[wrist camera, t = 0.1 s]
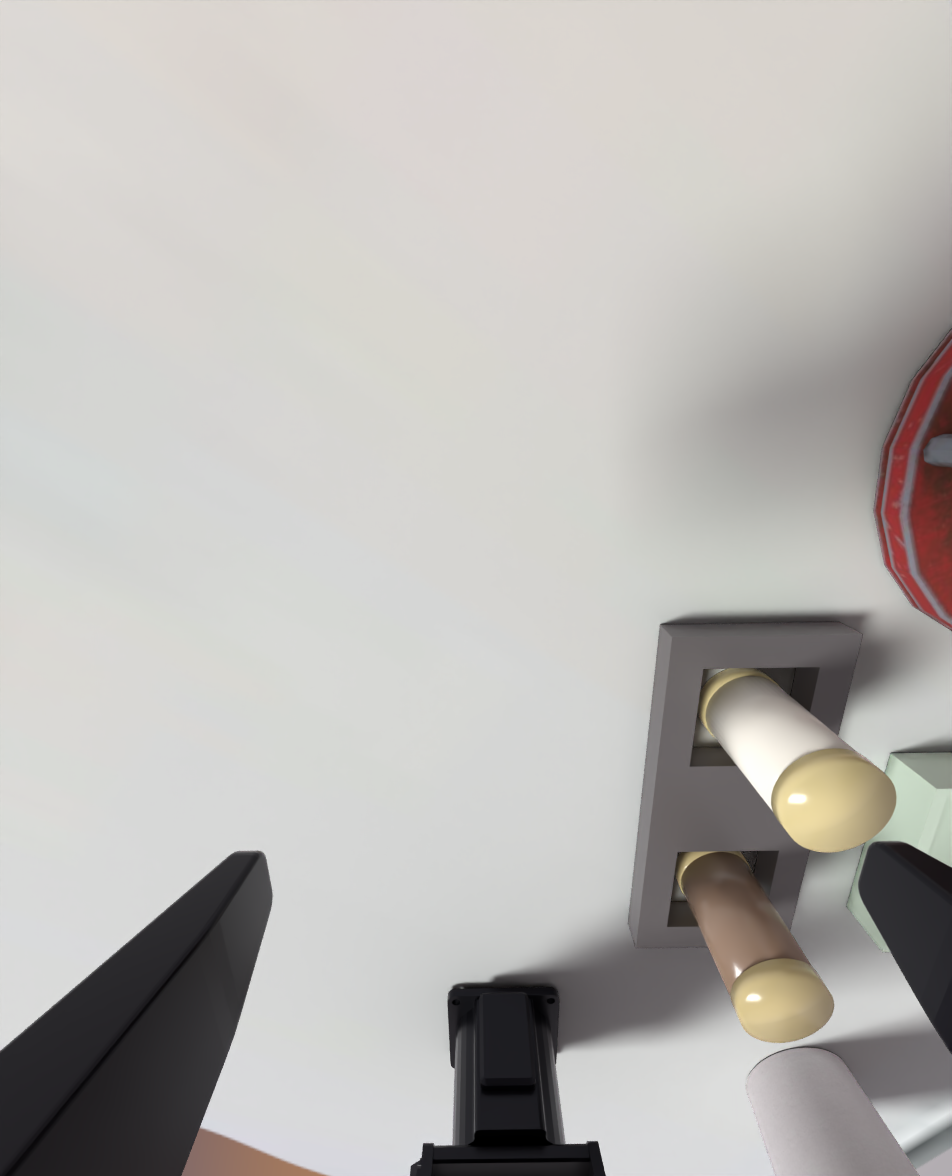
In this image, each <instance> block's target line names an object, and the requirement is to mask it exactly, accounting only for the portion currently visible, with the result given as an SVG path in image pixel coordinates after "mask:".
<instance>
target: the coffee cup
mask: <svg viewBox="0 0 952 1176" xmlns="http://www.w3.org/2000/svg"><path fill="white" fill-rule="evenodd" d="M746 1091H747V1095H748V1098H749V1101H750V1104H751V1107H752V1109H753V1112H754V1115H755V1118H756V1121H757V1124H758V1127H759V1130H760V1133H761V1136H762V1139H763V1141H764V1144H765V1147H766V1150H767V1153H768V1156H769V1159H770V1162H771V1165H772V1168H773V1171H774V1174H775V1176H920V1175H919V1174H918V1173H917V1171H916V1169H915V1168H914V1166H913V1165H912V1163H911V1162H910V1160H909V1159H908V1157H907V1156H906V1154H905V1153H904V1151H903V1150H902V1148H901V1147H900V1145H899V1144H898V1142H897V1141H896V1139H895V1138H894V1136H893V1135H892V1133H891V1132H890V1130H889V1129H888V1127H887V1126H886V1124H885V1123H884V1121H883V1120H882V1118H881V1117H880V1115H879V1114H878V1112H877V1111H876V1109H875V1108H874V1106H873V1105H872V1103H871V1102H870V1100H869V1099H868V1097H867V1096H866V1094H865V1093H864V1091H863V1090H862V1088H861V1087H860V1085H859V1084H858V1082H857V1081H856V1079H855V1078H854V1076H853V1075H852V1073H851V1072H850V1070H849V1069H848V1067H847V1066H846V1064H845V1063H844V1062H843V1060H842V1059H841V1058H840V1057H838V1056H837V1055H835V1054H834V1053H832V1052H829V1051H826V1050H823V1049H818V1048H795V1049H789V1050H785V1051H782V1052H779V1053H776V1054H774V1055H772V1056H770V1057H768V1058H766V1059H764V1060H763V1061H761V1062H760V1063H759V1064H758V1065H757V1066H756V1067H755V1068H754V1069H753V1070H752V1071H751V1072H750V1074H749V1076H748V1078H747V1081H746Z"/></svg>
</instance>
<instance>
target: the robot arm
mask: <svg viewBox="0 0 952 1176" xmlns="http://www.w3.org/2000/svg"><path fill="white" fill-rule="evenodd" d="M858 890H859V894H860V897H861V900H862V902H863V904H864V906H865V907H866V909H867V911H868V913H869V915H870V916H871V918H872V920H873V922H874V923H875V925H876V927H877V929H878V930H879V932H880V934H881V936H882V938H883V939H884V941H885V943H886V945H887V946H888V948H889V950H890V952H891V953H892V955H893V957H894V959H895V960H896V962H897V964H898V966H899V968H900V969H901V971H902V973H903V975H904V976H905V978H906V980H907V982H908V983H909V985H910V987H911V989H912V991H913V992H914V994H915V996H916V998H917V999H918V1001H919V1003H920V1005H921V1006H922V1008H923V1010H924V1011H925V1013H926V1015H927V1016H928V1018H929V1020H930V1021H931V1023H932V1025H933V1026H934V1028H935V1029H936V1031H937V1032H938V1034H939V1036H940V1037H941V1039H942V1040H943V1042H944V1043H945V1045H946V1047H947V1048H948V1050H949V1051H950V1053H951V1054H952V867H950V866H948V865H946V864H944V863H943V862H941V861H939V860H937V859H935V858H933V857H932V856H930V855H928V854H926V853H924V852H922V851H921V850H919V849H917V848H915V847H913V846H912V845H910V844H908V843H905V842H901V841H875V842H873V843H871V844H870V845H869V847H868V849H867V852H866V856H865V859H864V862H863V866H862V869H861V873H860V876H859V880H858ZM271 906H272V887H271V881H270V876H269V871H268V866H267V860H266V857H265V854H264V853H263V852H261V851H237V852H234V853H233V854H231V855H230V856H228V857H227V858H226V859H225V860H224V861H222V862H221V863H220V864H219V865H218V866H217V867H215V868H214V869H213V870H212V871H211V872H210V873H208V874H207V875H206V876H205V877H204V878H203V879H201V880H200V881H199V882H198V883H197V884H195V885H194V886H193V887H192V888H191V889H190V890H188V891H187V892H186V893H185V894H184V895H183V896H181V897H180V898H179V899H178V900H177V901H176V902H174V903H173V904H172V905H171V906H170V907H168V908H167V909H166V910H165V911H164V912H163V913H161V914H160V915H159V916H158V917H157V918H156V919H154V920H153V921H152V922H151V923H150V924H149V925H147V926H146V927H145V928H144V929H143V930H142V931H140V932H139V933H138V934H137V935H136V936H134V937H133V938H132V939H131V940H130V941H129V942H127V943H126V944H125V945H124V946H123V947H122V948H120V949H119V950H118V951H117V952H116V953H115V954H113V955H112V956H111V957H110V958H109V959H108V960H106V961H105V962H104V963H103V964H102V965H100V966H99V967H98V968H97V969H96V970H95V971H93V972H92V973H91V974H90V975H89V976H88V977H86V978H85V979H84V980H83V981H82V982H81V983H79V984H78V985H77V986H76V987H75V988H73V989H72V990H71V991H70V992H69V993H68V994H66V995H65V996H64V997H63V998H62V999H61V1000H59V1001H58V1002H57V1003H56V1004H55V1005H54V1006H52V1007H51V1008H50V1009H49V1010H48V1011H47V1012H45V1013H44V1014H43V1015H42V1016H41V1017H39V1018H38V1019H37V1020H36V1021H35V1022H34V1023H32V1024H31V1025H30V1026H29V1027H28V1028H27V1029H25V1030H24V1031H23V1032H22V1033H21V1034H20V1035H18V1036H17V1037H16V1038H15V1039H14V1040H13V1041H11V1042H10V1043H9V1044H8V1045H7V1046H5V1047H4V1048H3V1049H2V1050H1V1051H0V1176H181V1175H182V1172H183V1170H184V1167H185V1165H186V1162H187V1159H188V1157H189V1154H190V1151H191V1149H192V1146H193V1143H194V1141H195V1138H196V1136H197V1133H198V1130H199V1128H200V1125H201V1123H202V1120H203V1117H204V1115H205V1112H206V1110H207V1107H208V1104H209V1102H210V1099H211V1096H212V1094H213V1091H214V1089H215V1086H216V1083H217V1081H218V1078H219V1076H220V1073H221V1070H222V1068H223V1065H224V1062H225V1060H226V1057H227V1054H228V1052H229V1049H230V1046H231V1043H232V1040H233V1038H234V1035H235V1032H236V1028H237V1025H238V1022H239V1019H240V1015H241V1012H242V1009H243V1005H244V1002H245V998H246V995H247V991H248V988H249V984H250V981H251V977H252V974H253V970H254V967H255V963H256V960H257V956H258V953H259V949H260V946H261V942H262V939H263V935H264V932H265V928H266V925H267V921H268V918H269V914H270V911H271ZM558 1018H559V995H558V991H557V990H556V989H555V988H551V987H546V988H478V989H453V990H451V991H450V992H449V993H448V1020H449V1040H450V1061H451V1066H452V1067H453V1068H455V1079H454V1112H453V1144H452V1146H434V1143H423V1151H422V1158H420V1161H418V1162H416V1163H415V1164H413V1165H412V1166H411V1171H410V1176H606V1175H605V1171H604V1166H603V1162H602V1158H601V1153H600V1149H599V1144H598V1141H587V1143H586V1144H565V1136H564V1128H563V1121H562V1113H561V1105H560V1097H559V1089H558V1081H557V1074H556V1066H555V1064H556V1056H557V1037H558Z"/></svg>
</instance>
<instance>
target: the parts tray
mask: <svg viewBox="0 0 952 1176" xmlns="http://www.w3.org/2000/svg"><path fill="white" fill-rule="evenodd" d="M885 774H886V775H887V776H888V777H889V778H890V780H891V781H892V783H893V784H894V787H895V790H896V796H897V799H896V806H895V810H894V812H893V815H892V817H891V818H890V820H889V822H888V823H887V824H886V826H885V827H884V828H883V829H882V830H881V831H880V832H879V833H878V834H877V835H876V836H874V837H873V838H871V839H870V840H868V841H867V842H865V844H864V847H863V851H862V854H861V858H860V861H859V865H858V868H857V872H856V875H855V878H854V882H853V885H852V889H851V892H850V896H849V899H848V903H847V906H846V907H847V908H848V909H849V910H850V912H851V913H852V914H853V915H854V917H855V918H856V919H857V921H858V922H859V923H860V924H861V926H862V927H863V928H864V930H865V931H866V932H867V933H868V935H869V936H870V937H871V939H872V940H873V941H874V942H875V944H876V945H877V946H878V947H879V949H880V950H881V951H882V952H890V950H889V948H888V946H887V945H886V943H885V941H884V939H883V938H882V936H881V934H880V932H879V930H878V929H877V927H876V925H875V923H874V922H873V920H872V918H871V916H870V915H869V913H868V911H867V909H866V907H865V906H864V904H863V902H862V900H861V897H860V894H859V890H858V880H859V876H860V873H861V869H862V866H863V862H864V859H865V856H866V852H867V849H868V847H869V845H870V844H871V843H873V842H875V841H901V842H905V843H908V844H910V845H912V846H913V847H915V848H917V849H919V850H921V851H922V852H924V853H926V854H928V855H930V856H932V857H933V858H935V859H937V860H939V861H941V862H943V863H944V864H946V865H948V866H950V867H952V752H939V753H891V754H890V757H889V761H888V764H887V768H886V771H885Z"/></svg>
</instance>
